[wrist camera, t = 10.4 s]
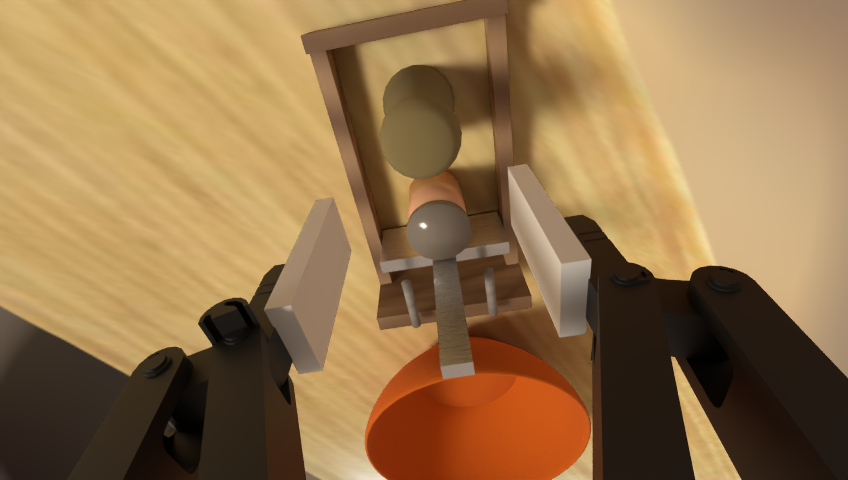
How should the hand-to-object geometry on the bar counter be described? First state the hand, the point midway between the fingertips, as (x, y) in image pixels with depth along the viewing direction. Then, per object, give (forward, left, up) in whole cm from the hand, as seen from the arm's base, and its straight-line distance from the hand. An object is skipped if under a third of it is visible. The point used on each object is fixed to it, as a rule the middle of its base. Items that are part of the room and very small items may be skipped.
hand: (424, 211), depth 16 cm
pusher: (+12, 0, -19) cm, 22 cm away
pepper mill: (0, 0, -19) cm, 19 cm away
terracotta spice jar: (+9, 0, -19) cm, 21 cm away
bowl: (+35, 0, -19) cm, 40 cm away
